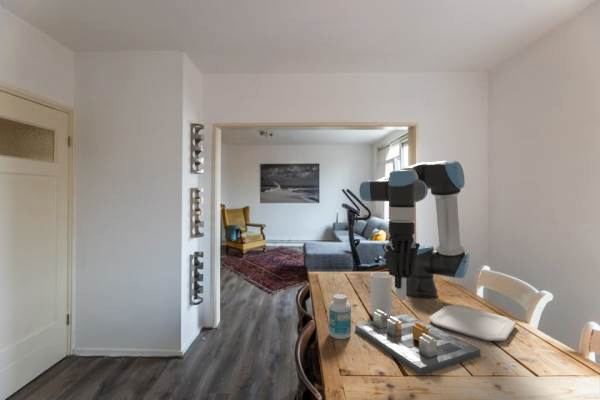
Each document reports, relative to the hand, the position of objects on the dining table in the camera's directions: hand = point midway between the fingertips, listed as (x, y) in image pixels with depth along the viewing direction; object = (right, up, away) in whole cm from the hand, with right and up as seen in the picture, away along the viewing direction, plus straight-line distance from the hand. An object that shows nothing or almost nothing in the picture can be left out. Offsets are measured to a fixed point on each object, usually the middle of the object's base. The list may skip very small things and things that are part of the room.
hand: (401, 298), depth 92 cm
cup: (+2, -17, +30) cm, 34 cm away
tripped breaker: (+7, -14, +3) cm, 16 cm away
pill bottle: (-17, -17, +12) cm, 27 cm away
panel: (+6, -17, +7) cm, 19 cm away
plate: (+33, -17, +20) cm, 42 cm away
